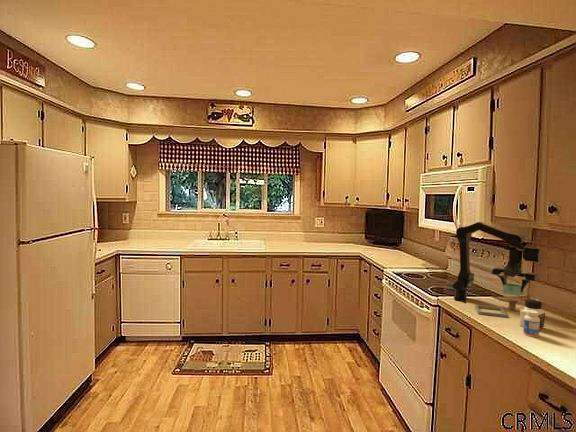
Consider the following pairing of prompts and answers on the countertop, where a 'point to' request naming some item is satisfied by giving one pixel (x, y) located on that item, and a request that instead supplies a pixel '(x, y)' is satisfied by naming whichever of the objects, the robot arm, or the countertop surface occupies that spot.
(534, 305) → the labeled white jar
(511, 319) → the countertop surface
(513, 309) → the brown peg stand
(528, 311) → the pill bottle
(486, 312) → the tray
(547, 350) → the countertop surface
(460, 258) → the robot arm
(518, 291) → the ring
